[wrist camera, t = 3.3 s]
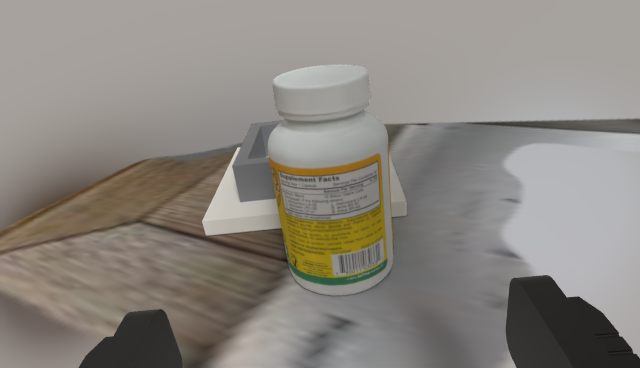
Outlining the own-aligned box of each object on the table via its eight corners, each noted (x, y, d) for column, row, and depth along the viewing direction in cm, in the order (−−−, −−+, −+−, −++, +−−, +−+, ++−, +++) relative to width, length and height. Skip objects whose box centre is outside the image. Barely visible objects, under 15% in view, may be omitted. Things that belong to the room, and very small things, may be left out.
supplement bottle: (370, 311, 19) (351, 93, 15) (268, 284, 21) (227, 91, 17) (409, 244, 23) (402, 58, 19) (319, 228, 26) (296, 61, 21)
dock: (382, 143, 36) (379, 102, 35) (406, 215, 26) (404, 160, 24) (239, 158, 37) (231, 119, 36) (206, 235, 26) (191, 183, 25)
